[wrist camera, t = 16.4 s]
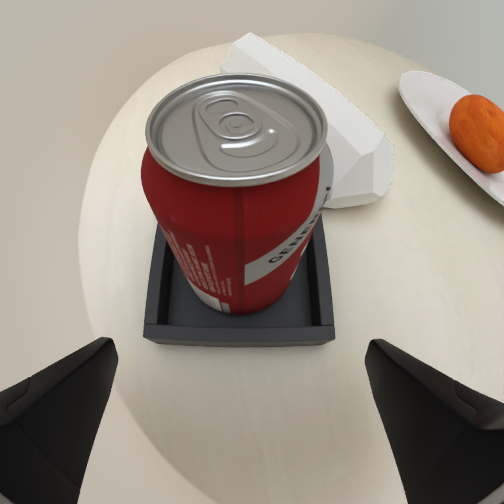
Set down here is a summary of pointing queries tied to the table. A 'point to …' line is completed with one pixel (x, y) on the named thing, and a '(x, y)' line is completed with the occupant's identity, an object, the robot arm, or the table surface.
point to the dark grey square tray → (240, 326)
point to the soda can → (237, 184)
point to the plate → (459, 126)
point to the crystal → (338, 119)
